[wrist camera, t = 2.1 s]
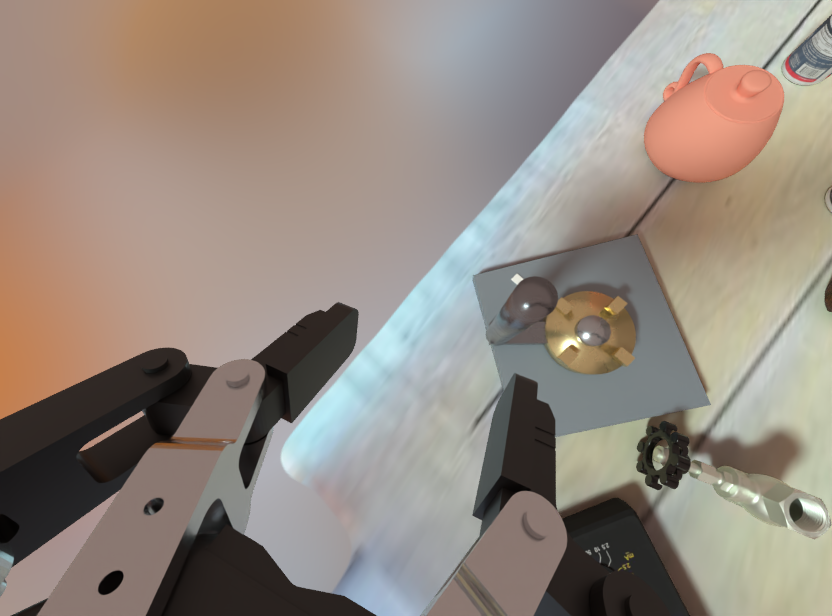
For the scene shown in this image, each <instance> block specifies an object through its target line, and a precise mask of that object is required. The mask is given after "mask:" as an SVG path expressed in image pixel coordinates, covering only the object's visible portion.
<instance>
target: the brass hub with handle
mask: <svg viewBox="0 0 832 616" xmlns="http://www.w3.org/2000/svg"><path fill="white" fill-rule="evenodd" d="M627 304H628V303H627V302H625V301H624V300H623V299H621V298H620V297H619V296H617V297H615V298H611V297H609V296H607V295H605V294H602V293H598V292H593V291H581V292H576V293H572V294H570V295H568V296H566V297H564V298H562V297H561V298H560V299H559V300H558V293H557V290H556V288H555V287H554V285H553V284H552V283H551V282H550V281H548V280H547V279H545V278H542V277H537V276H532V277H528V278H525V279H523V280H522V281H520V282H519V283H518V285H517V286H516V287H515V289H514V290H513V292H512V293H511V295H510V296H509V298H508V299H507V301H506V302H505V304H504V305H503V307H502V308H501V310H500V311H499V312H498V314H497V315H496V317H495V318H494V320H493V321H492V322H489V324H488V329H487V331H486V338H487V340H488V341H489V345H495V346H500V345H544V346H545V349H546V350H547V352H548V354H549V355H550V356H551V358H552V359H553V360H554V361H555V362H556V363H557V364H559V365H560V366H561V367H563V368H565V369H567V370H569V371H571V372H574V373H578V374H587V375H592V374H605V373H609V372H612V371H614V370H616V369H618V368H619V367H621V366H623V367H627V366H628V365H629V364H630V363H631V362H632V361H633V360H634V359H635V357H634V356H632V355H631V354H632V353H633V350H634V347H635V343H636V331H635V326H634V323H633V320H632V319H631V317H630V315H629V313H628V312H627V310H626V309H625V308H624V307H625V306H626V305H627ZM543 318H544V319H543ZM541 319H543V322H538V321H540V320H541Z"/></svg>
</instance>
